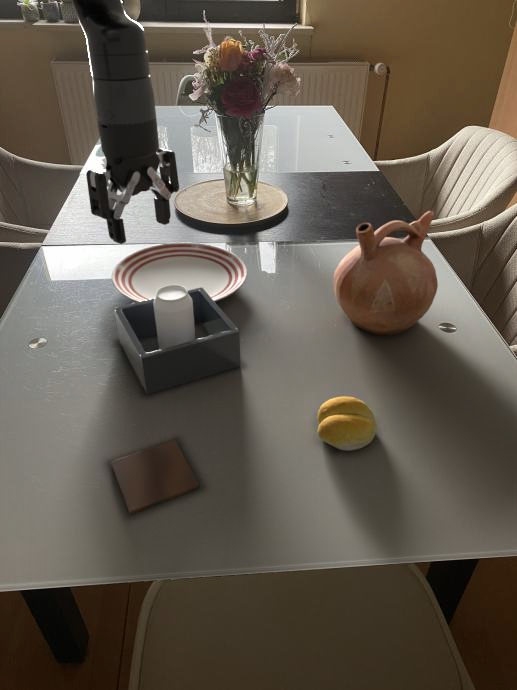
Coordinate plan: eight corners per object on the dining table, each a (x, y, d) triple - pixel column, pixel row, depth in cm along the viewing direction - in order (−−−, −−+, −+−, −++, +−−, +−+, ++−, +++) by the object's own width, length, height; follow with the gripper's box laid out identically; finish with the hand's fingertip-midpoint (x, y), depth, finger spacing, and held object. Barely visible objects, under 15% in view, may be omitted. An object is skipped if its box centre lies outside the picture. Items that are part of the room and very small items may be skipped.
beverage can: (201, 346, 93) (197, 285, 86) (188, 367, 88) (182, 304, 81) (168, 340, 95) (161, 280, 88) (153, 361, 90) (145, 299, 83)
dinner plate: (269, 270, 116) (269, 257, 114) (202, 333, 96) (201, 317, 95) (165, 246, 127) (164, 232, 125) (85, 298, 107) (81, 283, 105)
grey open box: (147, 394, 83) (141, 358, 79) (119, 341, 94) (113, 307, 90) (240, 366, 89) (240, 331, 85) (204, 319, 100) (202, 287, 96)
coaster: (129, 514, 65) (129, 512, 64) (111, 464, 71) (110, 461, 71) (199, 487, 68) (199, 485, 68) (175, 442, 75) (175, 439, 74)
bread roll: (317, 452, 73) (319, 430, 71) (316, 408, 80) (318, 387, 78) (378, 455, 73) (382, 434, 70) (372, 410, 80) (375, 390, 78)
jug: (396, 287, 111) (412, 192, 99) (450, 333, 97) (476, 229, 85) (315, 302, 106) (322, 204, 94) (359, 353, 92) (374, 245, 80)
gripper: (147, 101, 76) (159, 212, 85) (61, 120, 66) (86, 242, 76) (186, 109, 72) (194, 223, 81) (101, 130, 63) (121, 256, 72)
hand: (141, 232), depth 79 cm, fingers open, 8 cm apart
